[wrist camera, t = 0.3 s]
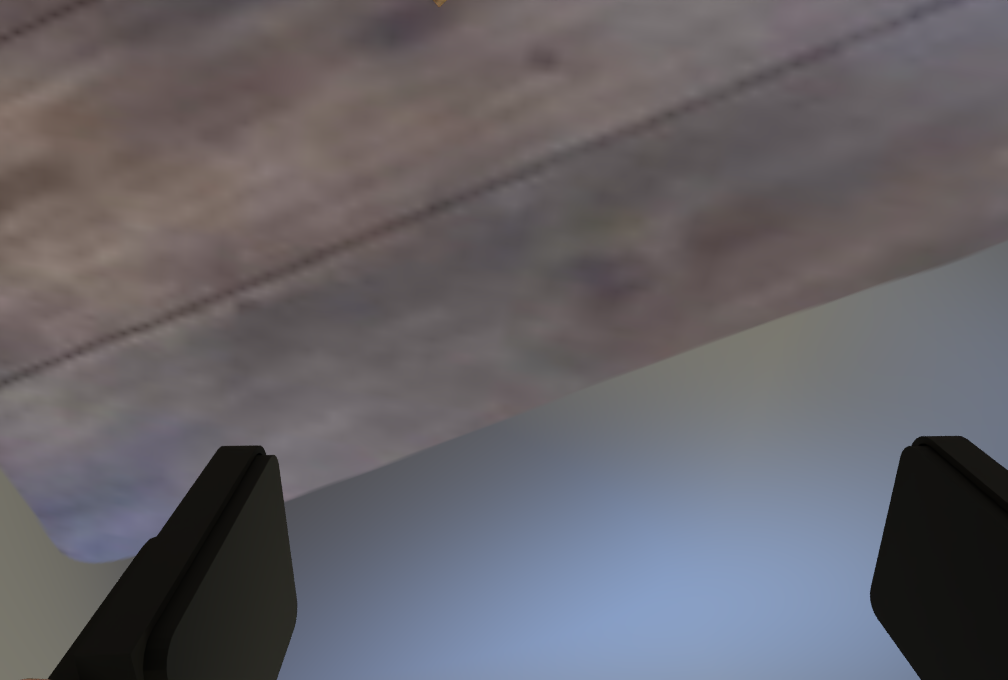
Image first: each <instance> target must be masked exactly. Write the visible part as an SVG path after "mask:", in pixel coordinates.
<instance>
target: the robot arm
mask: <svg viewBox="0 0 1008 680" xmlns="http://www.w3.org/2000/svg"><path fill="white" fill-rule="evenodd" d="M870 601H871V605H872V608H873V611H874V613H875V615H876V617H877V619H878V620H879V621H880V623H881V624H882V625H883V627H884V628H885V630H886V631H887V633H888V634H889V635H890V637H891V638H892V640H893V641H894V642H895V644H896V645H897V647H898V648H899V649H900V651H901V652H902V654H903V655H904V656H905V658H906V659H907V661H908V662H909V663H910V665H911V666H912V668H913V669H914V671H915V672H916V673H917V675H918V676H919V677H920V679H921V680H1008V470H1007V469H1005V468H1004V467H1003V466H1001V465H1000V464H999V463H997V462H996V461H995V460H993V459H992V458H991V457H990V456H988V455H987V454H985V453H984V452H983V451H982V450H981V449H979V448H978V447H977V446H975V445H974V444H973V443H971V442H970V441H969V440H968V439H966V438H964V437H962V436H921V437H919V438H917V439H916V440H915V441H914V442H913V443H912V446H908V447H906V448H905V449H904V450H903V451H902V454H901V457H900V461H899V466H898V470H897V474H896V479H895V483H894V488H893V492H892V496H891V502H890V505H889V510H888V515H887V518H886V523H885V527H884V532H883V536H882V541H881V545H880V549H879V554H878V558H877V563H876V567H875V572H874V576H873V580H872V585H871V590H870ZM296 617H297V598H296V590H295V582H294V574H293V567H292V559H291V552H290V545H289V537H288V529H287V522H286V514H285V507H284V500H283V492H282V485H281V477H280V470H279V463H278V459H277V457H276V456H275V455H266V453H265V450H264V448H263V447H262V446H221V447H220V448H219V449H218V450H217V452H216V453H215V454H214V456H213V457H212V459H211V460H210V461H209V463H208V464H207V466H206V467H205V469H204V470H203V471H202V473H201V474H200V476H199V477H198V479H197V480H196V481H195V483H194V484H193V486H192V487H191V488H190V490H189V491H188V493H187V494H186V496H185V497H184V498H183V500H182V501H181V503H180V504H179V506H178V507H177V508H176V510H175V511H174V513H173V514H172V515H171V517H170V518H169V520H168V521H167V523H166V524H165V525H164V527H163V528H162V530H161V531H160V533H159V534H158V535H157V537H154V538H151V539H149V540H148V541H147V543H146V544H145V545H144V546H143V547H142V548H141V550H140V551H139V552H138V554H137V555H136V557H135V558H134V559H133V561H132V562H131V564H130V565H129V566H128V568H127V569H126V571H125V572H124V573H123V575H122V576H121V577H120V579H119V581H118V582H117V583H116V584H115V586H114V587H113V589H112V590H111V592H110V593H109V594H108V596H107V597H106V599H105V600H104V601H103V603H102V604H101V605H100V607H99V608H98V610H97V611H96V612H95V614H94V615H93V617H92V618H91V620H90V621H89V622H88V624H87V625H86V626H85V628H84V629H83V631H82V632H81V633H80V635H79V636H78V637H77V639H76V640H75V642H74V643H73V644H72V646H71V647H70V649H69V650H68V651H67V653H66V654H65V656H64V657H63V658H62V660H61V661H60V663H59V664H58V665H57V667H56V668H55V670H54V671H53V672H52V674H51V675H50V676H49V678H48V679H33V678H27V679H22V680H277V677H278V674H279V671H280V668H281V665H282V662H283V660H284V657H285V653H286V651H287V648H288V645H289V642H290V639H291V636H292V633H293V630H294V627H295V623H296Z"/></svg>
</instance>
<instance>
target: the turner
mask: <svg viewBox="0 0 1008 680" xmlns="http://www.w3.org/2000/svg"><path fill="white" fill-rule="evenodd" d="M433 1H434V2H435V3H436V4H437V6H438V7H440V6H441V5H442V4H443V3H444V2H445V1H446V0H433Z"/></svg>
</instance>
